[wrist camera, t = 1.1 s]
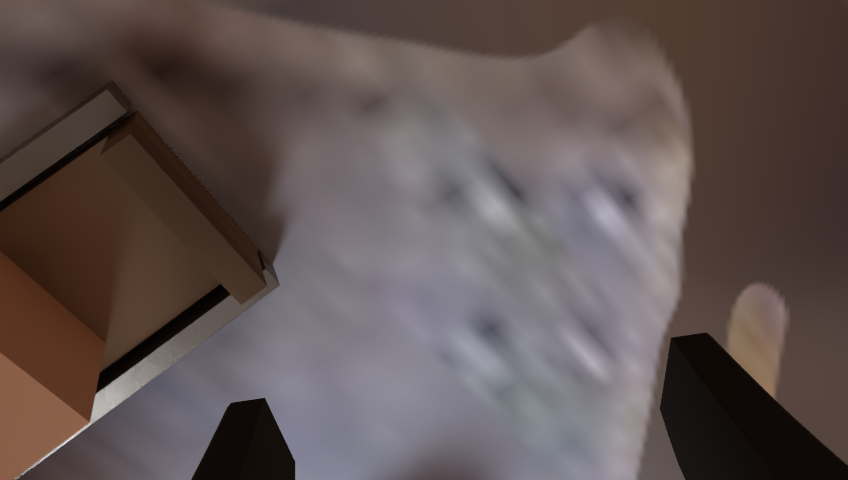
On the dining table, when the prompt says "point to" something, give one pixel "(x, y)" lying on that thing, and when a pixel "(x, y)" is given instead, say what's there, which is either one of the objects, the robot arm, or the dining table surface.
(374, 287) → the dining table surface
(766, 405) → the robot arm
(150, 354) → the lane rails
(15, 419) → the block
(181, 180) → the brown boxy piece
